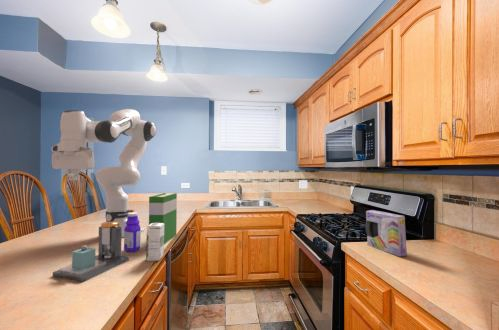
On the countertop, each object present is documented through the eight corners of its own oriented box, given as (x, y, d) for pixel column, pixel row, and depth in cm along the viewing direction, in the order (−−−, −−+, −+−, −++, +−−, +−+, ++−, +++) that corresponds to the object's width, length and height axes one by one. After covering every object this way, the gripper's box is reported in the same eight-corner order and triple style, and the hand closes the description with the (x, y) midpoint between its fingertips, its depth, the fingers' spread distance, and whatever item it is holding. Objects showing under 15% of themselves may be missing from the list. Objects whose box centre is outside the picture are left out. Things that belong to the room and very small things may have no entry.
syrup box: (150, 256, 102) (150, 222, 103) (164, 255, 103) (164, 222, 103) (145, 261, 97) (146, 226, 97) (160, 260, 97) (160, 225, 97)
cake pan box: (364, 244, 120) (364, 209, 120) (372, 243, 121) (372, 209, 121) (398, 257, 101) (398, 216, 102) (407, 256, 103) (407, 216, 103)
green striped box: (163, 234, 135) (164, 193, 136) (176, 235, 135) (176, 193, 135) (148, 244, 118) (149, 196, 118) (163, 245, 117) (163, 196, 118)
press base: (103, 256, 102) (103, 224, 102) (129, 260, 98) (129, 226, 98) (52, 276, 83) (53, 236, 83) (81, 282, 79) (82, 240, 79)
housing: (85, 261, 90) (85, 243, 90) (95, 263, 88) (95, 244, 88) (71, 267, 85) (72, 247, 85) (82, 268, 83) (82, 249, 83)
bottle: (142, 249, 111) (143, 212, 111) (132, 253, 106) (132, 214, 106) (132, 247, 114) (132, 211, 114) (121, 251, 109) (121, 213, 109)
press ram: (110, 249, 101) (110, 220, 101) (122, 250, 99) (122, 221, 99) (96, 254, 95) (97, 224, 95) (109, 256, 93) (109, 225, 93)
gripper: (98, 147, 100) (98, 180, 100) (63, 148, 106) (63, 179, 106) (84, 146, 94) (84, 180, 94) (48, 147, 100) (48, 180, 100)
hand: (73, 180), depth 100 cm, fingers closed
